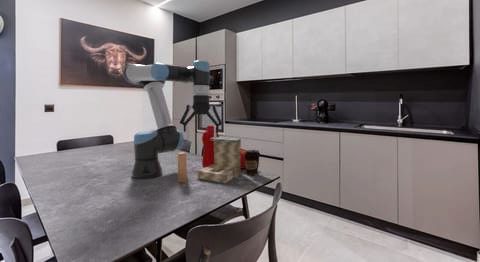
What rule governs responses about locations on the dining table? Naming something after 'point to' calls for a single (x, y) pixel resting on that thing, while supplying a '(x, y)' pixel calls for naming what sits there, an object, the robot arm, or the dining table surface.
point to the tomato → (243, 158)
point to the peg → (182, 167)
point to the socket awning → (223, 161)
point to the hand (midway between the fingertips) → (201, 139)
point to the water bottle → (208, 146)
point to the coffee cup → (252, 162)
